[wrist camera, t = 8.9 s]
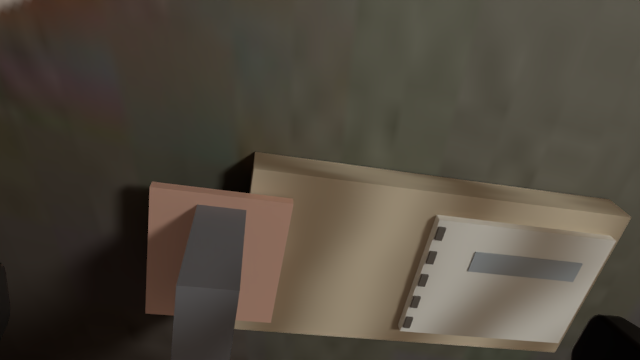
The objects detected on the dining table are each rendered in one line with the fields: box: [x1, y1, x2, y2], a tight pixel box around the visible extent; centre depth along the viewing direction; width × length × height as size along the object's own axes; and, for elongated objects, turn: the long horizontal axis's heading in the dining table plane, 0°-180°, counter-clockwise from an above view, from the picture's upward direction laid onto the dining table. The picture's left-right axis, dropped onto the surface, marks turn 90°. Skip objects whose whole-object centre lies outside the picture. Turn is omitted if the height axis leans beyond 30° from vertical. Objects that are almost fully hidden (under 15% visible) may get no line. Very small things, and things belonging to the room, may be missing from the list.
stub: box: [145, 182, 294, 360], centre depth 17 cm, size 5×6×5 cm
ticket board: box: [234, 152, 631, 352], centre depth 21 cm, size 16×8×2 cm, turn 79°
